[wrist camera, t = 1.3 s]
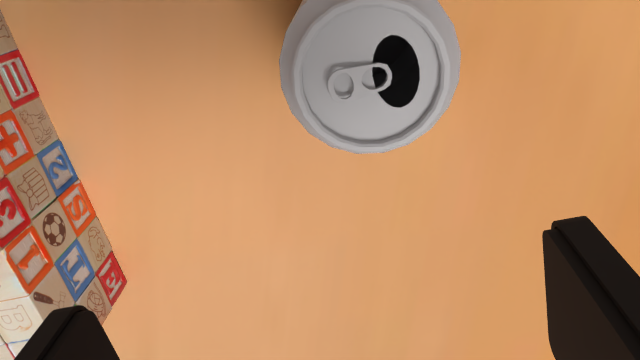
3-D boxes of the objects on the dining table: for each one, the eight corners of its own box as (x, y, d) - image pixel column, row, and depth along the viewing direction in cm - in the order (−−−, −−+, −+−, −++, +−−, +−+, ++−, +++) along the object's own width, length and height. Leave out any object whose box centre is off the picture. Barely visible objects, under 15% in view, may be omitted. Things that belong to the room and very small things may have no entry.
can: (430, 77, 31) (477, 153, 21) (311, 100, 32) (298, 184, 22) (415, -54, 28) (462, -45, 17) (284, -25, 29) (252, 1, 18)
